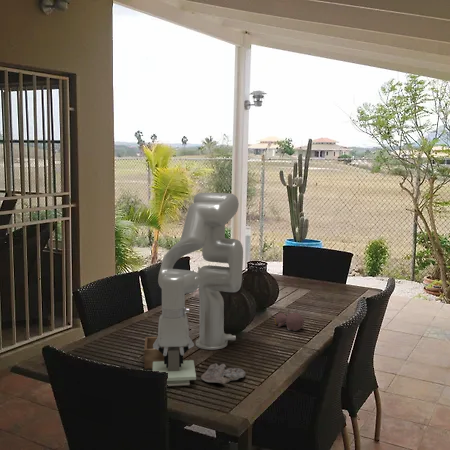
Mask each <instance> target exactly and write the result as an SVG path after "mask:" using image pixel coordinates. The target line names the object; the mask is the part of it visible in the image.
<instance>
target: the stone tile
mask: <svg viewBox="0 0 450 450" xmlns="http://www.w3.org/2000/svg"><path fill="white" fill-rule="evenodd" d="M190 384H191V383H190V380H176V381H167V385H168V386H167V387H171V386H172V387H175V386H176V387H177V386H190Z"/></svg>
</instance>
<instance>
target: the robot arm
mask: <svg viewBox="0 0 450 450" xmlns="http://www.w3.org/2000/svg"><path fill="white" fill-rule="evenodd" d="M238 210H239V199H238V197H237V196H236V195H235V194H234V193H229V192H227V193H226V192H225V193H224V192H199V193H196V194H195V195H194V197H193V203H191V204H190V205H189V207H188V209H187V213H186V216H185V221H184V225H183V228H182V232H181V237H180V238H179V241H178V242H176V243H175V244H174V245H172V246H171V247H170V249H169V250H168V251H167V252H166V253H165V254H164V256H163V258H162V261H161V263H160V264H161V265H160V269H159V271H158V276H157V277H158V279H157V282H158V285H159V288H160V289H161V314H160V315H159V317H158V318H159V319H158V325H157V326H158V328H157V329H158V330H157V336H156V337H157V339H156V341H155V342H154V344H153V348H155V349H157V350H159V351H160V352H161V353H162V354H163V355H164V364H166V368H168V352H167V350H168V347H179V348H180V352H179V367H181V364H183V360H184V355H185V354H186V353H187V352H188V351H189V349H191V348H193V347H194V346H196V347H197V348H199V349H202V350H208V351H214V350H216V351H217V350H220V349H224V348H225V347H227V346H228V341H236V335H235V334H234V335H232V334H231V333H225V331H224V326H225V324H224V321H225V320H224V319H225V316H224V308H225V305H224V304H225V302H224V297H223V296H222V294H221V292H226V293H237V292H238V291H239V290H240V289H241V287H242V284H243V283H242V281H243V263H244V247H243V244H242V242H241V241H240V240H238V239H235V238H226V224H228V222H230V221H231V219H233V218H234V216H235V215H236V214H237V212H238ZM199 250H201V251H202V258H203V260H205V261H206V262H210V263H217V264H218V263H219V264H220V263H222V264H227V265H228V266H223V265H222V266H221V265H212V264H211V265H204V266H201V267H200V268H199V269H198V270H197V272H196V271H194V270H191V269H190V270H189V269H188V270H187V269H178V268H174V266H175V264H176V262H177V261H178V260H180V259H181V258H183V257H185V256H186V255H188V254H189V255H190V254H192V253H194V252H197V251H199ZM197 290H198V298H199V301H198V302H199V307H198V308H199V314H198V315H199V316H198V318H199V323H198V324H199V333H198V334H199V338H197V339H196V340H195V343H194V342H193V340H192V338H191V337H190V330H189V329H190V328H189V320H188V315H187V313H190V308H189V307H188V308H187V307H186V306H185V305H186V304H185V303H186V296H185V295H187V294H193V293H195V292H196V291H197ZM158 344H159V345H158ZM163 347H164V348H163Z"/></svg>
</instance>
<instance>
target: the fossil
mask: <svg viewBox="0 0 450 450" xmlns="http://www.w3.org/2000/svg"><path fill="white" fill-rule="evenodd" d="M245 376H246V371H245V370H244V369H243V368H239V367H229V368H227V366H226V364H225V363H221V364H220V365H219V364H218V362H217V363H213V364H210V365H209V366H208V368H207V369H206V371H205V372H204V373H202V374H201V375H200V379H201V380H202V381H203V382H206V383H217V384H221V385H224V384H228V383H229V382H232V381H239V379H241V378H242V379H243V378H245Z"/></svg>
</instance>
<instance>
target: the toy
mask: <svg viewBox="0 0 450 450" xmlns="http://www.w3.org/2000/svg"><path fill="white" fill-rule="evenodd" d="M274 322H275V323H274V324H275V325H276V326H277V327H278V328H280V327H283V326H285V325H286V328H287V330H288V331H290V332H291V331H293V332H294V331H295V332H297V331H298V330H301V328H302V327H303V326H304V324H305V319H304V317H303V316H302V315H301V314H300V313H299V312H291V313H289V312H287V315H286V313H283V312H279V313H277V314H276V316H275V317H274Z"/></svg>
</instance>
